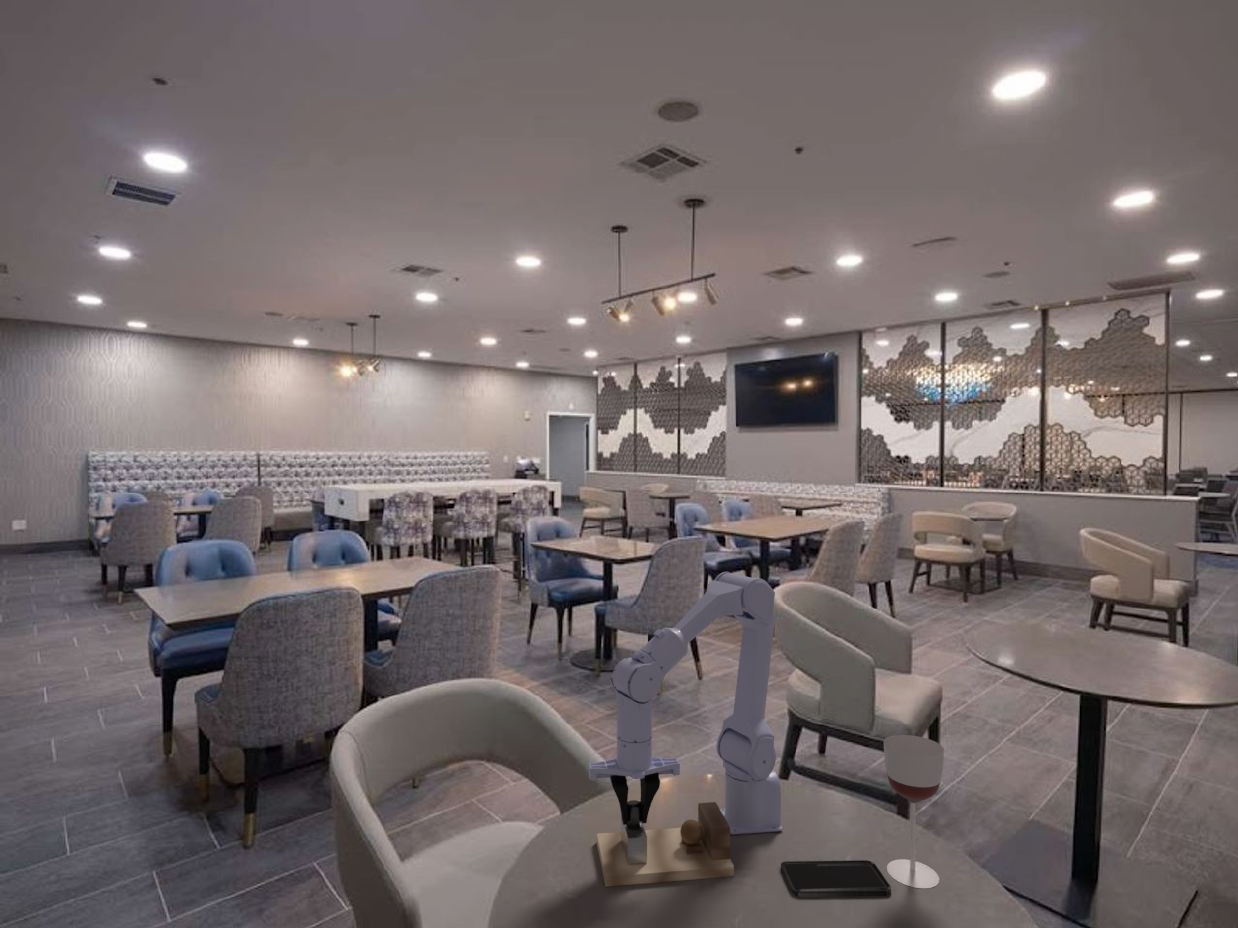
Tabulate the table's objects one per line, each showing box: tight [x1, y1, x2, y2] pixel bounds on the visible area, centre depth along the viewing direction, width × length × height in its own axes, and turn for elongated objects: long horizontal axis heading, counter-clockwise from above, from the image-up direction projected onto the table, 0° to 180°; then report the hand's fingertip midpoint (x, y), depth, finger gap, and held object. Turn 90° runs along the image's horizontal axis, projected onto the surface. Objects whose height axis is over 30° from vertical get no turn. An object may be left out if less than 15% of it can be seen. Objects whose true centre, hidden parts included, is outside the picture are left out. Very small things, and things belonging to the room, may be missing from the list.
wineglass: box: [883, 734, 945, 889], centre depth 105 cm, size 8×9×20 cm
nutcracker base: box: [596, 801, 735, 888], centre depth 108 cm, size 20×12×6 cm, turn 98°
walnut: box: [680, 819, 703, 845], centre depth 109 cm, size 4×4×4 cm
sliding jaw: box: [620, 799, 647, 864], centre depth 107 cm, size 3×7×8 cm, turn 8°
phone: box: [780, 859, 892, 898], centre depth 103 cm, size 8×1×15 cm
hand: (633, 820), depth 107 cm, fingers closed on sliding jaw, 2 cm apart
